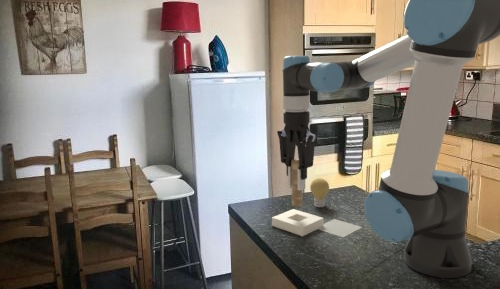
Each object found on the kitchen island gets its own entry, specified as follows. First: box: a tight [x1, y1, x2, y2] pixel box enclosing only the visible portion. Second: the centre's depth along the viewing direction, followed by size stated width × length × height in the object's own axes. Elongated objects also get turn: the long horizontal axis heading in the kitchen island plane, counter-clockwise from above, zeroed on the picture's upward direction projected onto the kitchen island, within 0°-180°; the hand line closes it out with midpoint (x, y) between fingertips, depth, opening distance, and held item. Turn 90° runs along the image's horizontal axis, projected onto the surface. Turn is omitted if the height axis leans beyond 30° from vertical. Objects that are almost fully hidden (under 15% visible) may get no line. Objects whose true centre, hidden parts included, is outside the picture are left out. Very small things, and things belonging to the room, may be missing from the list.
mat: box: [318, 218, 363, 238], centre depth 126 cm, size 10×10×1 cm
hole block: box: [271, 208, 325, 237], centre depth 128 cm, size 12×10×3 cm
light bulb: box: [309, 177, 330, 208], centre depth 145 cm, size 6×6×10 cm
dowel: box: [291, 158, 303, 208], centre depth 126 cm, size 3×3×14 cm
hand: (296, 187), depth 126 cm, fingers closed on dowel, 3 cm apart
